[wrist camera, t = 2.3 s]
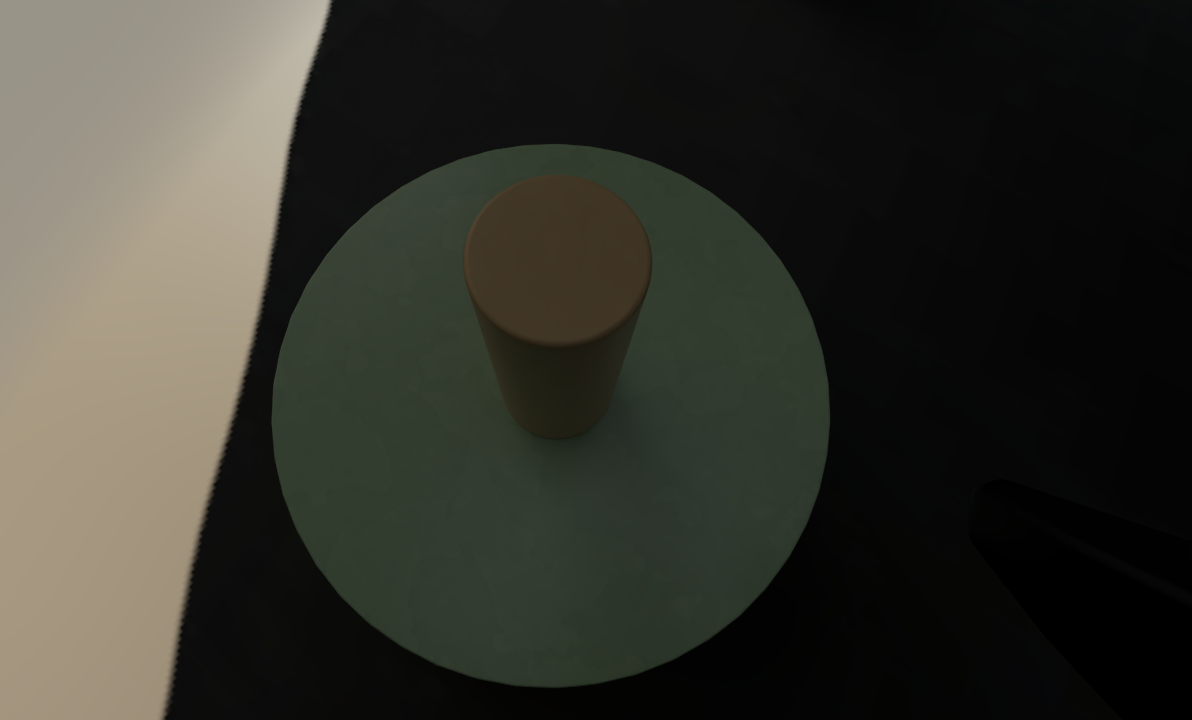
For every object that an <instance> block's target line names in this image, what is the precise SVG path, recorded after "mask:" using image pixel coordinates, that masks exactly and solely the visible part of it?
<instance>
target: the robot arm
mask: <svg viewBox="0 0 1192 720" xmlns="http://www.w3.org/2000/svg"><path fill="white" fill-rule="evenodd" d="M968 533H969V536H970V539H971V541H972V543H973V544H974V546H975V547H976V549H977V550H978V551H979V553H980V554H981V555H982V556H983V558H984V559H985V560H986V562H987V563H988V564H989V565H990V567H991V568H992V569H993V571H994V572H995V573H996V574H997V576H998V577H999V578H1000V580H1001V581H1002V582H1003V583H1004V585H1005V586H1006V587H1007V589H1008V590H1009V591H1010V593H1011V594H1012V595H1013V596H1014V598H1015V599H1016V600H1017V602H1018V603H1019V604H1020V605H1021V607H1022V608H1023V609H1024V611H1025V612H1026V613H1027V614H1028V616H1029V617H1030V618H1031V620H1032V621H1033V622H1034V623H1035V625H1036V626H1037V627H1038V628H1039V629H1040V631H1041V632H1042V633H1043V634H1044V636H1045V637H1046V638H1047V639H1048V640H1049V641H1050V642H1051V644H1052V645H1053V646H1054V647H1055V648H1056V649H1057V650H1058V651H1059V652H1060V654H1061V655H1062V656H1063V657H1064V658H1065V659H1066V660H1067V661H1068V662H1069V663H1070V664H1071V665H1072V666H1073V667H1074V669H1075V670H1076V671H1077V672H1078V673H1079V674H1080V675H1081V676H1082V677H1083V678H1084V679H1085V680H1086V681H1087V682H1088V683H1089V685H1090V686H1091V687H1092V688H1093V689H1094V690H1095V691H1096V692H1097V693H1098V694H1099V695H1100V696H1101V697H1102V698H1103V700H1104V701H1105V702H1106V703H1107V704H1108V705H1109V706H1110V707H1111V708H1112V709H1113V710H1114V711H1115V712H1116V713H1117V715H1118V716H1119V717H1120V718H1121V719H1122V720H1192V542H1191V541H1188V540H1185V539H1182V538H1179V537H1176V536H1173V535H1170V534H1167V533H1164V532H1161V531H1158V530H1155V529H1152V528H1149V527H1146V526H1143V525H1140V524H1137V523H1134V522H1131V521H1128V520H1125V519H1122V518H1119V517H1116V516H1113V515H1110V514H1107V513H1104V512H1101V511H1098V510H1095V509H1092V508H1089V507H1086V506H1083V505H1080V504H1077V503H1074V502H1071V501H1068V500H1065V499H1062V498H1059V497H1056V496H1053V495H1050V494H1047V493H1044V492H1041V491H1038V490H1035V489H1032V488H1029V487H1026V486H1023V485H1020V484H1017V483H1014V482H1011V481H1008V480H1003V479H998V480H994V481H991V482H988V483H986V484H983V485H981V486H978V487H976V488H975V489H974V490H973V492H972V494H971V501H970V510H969V520H968Z"/></svg>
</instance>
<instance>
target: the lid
mask: <svg viewBox="0 0 1192 720" xmlns="http://www.w3.org/2000/svg"><path fill="white" fill-rule="evenodd" d="M829 428H830V406H829V385H828V380H827V374H826V368H825V363H824V357H823V352H822V348H821V345H820V342H819V339H818V336H817V333H816V329H815V326H814V323H813V320H812V317H811V315H810V313H809V311H808V309H807V307H806V304H805V302H804V300H803V298H802V296H801V294H800V292H799V289H798V288H797V286H796V284H795V283H794V281H793V280H792V278H791V276H790V275H789V273H788V271H787V270H786V268H785V267H784V265H783V263H782V262H781V260H780V259H779V258H778V257H777V255H776V254H775V253H774V252H773V250H772V249H771V248H770V247H769V245H768V244H767V243H766V242H765V240H764V239H763V238H762V237H761V236H760V234H759V233H758V232H756V231H755V230H754V229H753V228H752V227H751V226H750V225H749V224H748V223H747V222H746V221H745V220H744V219H743V218H742V217H741V216H740V215H739V214H738V213H737V212H736V211H734V210H733V209H732V208H730V207H729V206H728V205H727V204H725V203H724V202H723V201H721V200H720V199H719V198H717V197H716V196H715V195H713V194H712V193H711V192H709V191H708V190H706V189H704V188H702V187H701V186H699V185H697V184H696V183H694V182H692V181H691V180H689V179H687V178H686V177H684V176H682V175H680V174H678V173H675V172H673V171H671V170H669V169H666V168H664V167H662V166H660V165H657V164H655V163H653V162H650V161H647V160H643V159H640V158H637V157H634V156H631V155H627V154H624V153H620V152H615V151H610V150H605V149H600V148H595V147H588V146H575V145H562V144H550V145H525V146H518V147H512V148H505V149H498V150H492V151H489V152H485V153H481V154H478V155H474V156H470V157H467V158H463V159H460V160H457V161H455V162H452V163H450V164H447V165H445V166H442V167H440V168H437V169H435V170H432V171H430V172H428V173H426V174H425V175H423V176H421V177H419V178H417V179H415V180H413V181H412V182H410V183H408V184H406V185H404V186H402V187H401V188H399V189H398V190H397V191H395V192H394V193H392V194H391V195H389V196H388V197H387V198H385V199H384V200H382V201H381V202H380V203H378V204H377V205H375V206H374V207H373V208H372V209H371V210H370V211H368V212H367V213H366V214H365V215H364V216H363V217H362V218H361V219H360V220H359V221H357V222H356V223H355V224H354V225H353V226H352V227H351V228H350V229H349V230H348V231H347V232H346V233H345V234H344V235H343V237H342V238H341V239H340V240H339V241H338V242H337V244H336V245H335V246H334V247H333V248H332V249H331V251H330V252H329V253H328V254H327V255H326V257H325V258H324V260H323V261H322V263H321V264H320V266H319V267H318V269H317V270H316V272H315V273H314V275H313V276H312V278H311V279H310V281H309V282H308V284H307V286H306V288H305V290H304V292H303V294H302V296H301V298H300V300H299V302H298V304H297V306H296V308H295V310H294V312H293V314H292V317H291V320H290V323H289V326H288V329H287V332H286V335H285V338H284V340H283V343H282V346H281V349H280V355H279V360H278V365H277V370H276V375H275V380H274V388H273V406H272V431H273V443H274V455H275V461H276V466H277V470H278V475H279V479H280V483H281V488H282V492H283V496H284V498H285V501H286V504H287V506H288V509H289V511H290V514H291V517H292V519H293V522H294V524H295V527H296V530H297V532H298V533H299V535H300V537H301V539H302V541H303V542H304V544H305V546H306V548H307V549H308V551H309V553H310V555H311V557H312V558H313V560H314V562H315V564H316V565H317V566H318V568H319V569H320V570H321V572H322V573H323V574H324V576H325V577H326V578H327V579H328V581H329V582H330V583H331V585H332V586H333V587H334V589H335V590H336V591H337V592H338V594H339V595H340V596H341V597H342V598H343V599H344V600H345V601H346V602H347V603H348V604H349V605H350V606H351V607H352V608H353V609H354V610H355V611H356V612H357V613H358V614H360V615H361V616H362V617H363V618H364V619H365V620H366V621H367V622H368V623H369V624H370V625H372V626H373V627H375V628H376V629H377V630H379V631H380V632H381V633H383V634H384V635H386V636H387V637H388V638H390V639H391V640H393V641H394V642H395V643H397V644H398V645H400V646H401V647H403V648H405V649H407V650H409V651H411V652H412V653H414V654H416V655H418V656H420V657H422V658H424V659H426V660H428V661H430V662H432V663H434V664H436V665H438V666H441V667H443V668H446V669H449V670H452V671H455V672H458V673H461V674H464V675H466V676H469V677H472V678H475V679H480V680H485V681H490V682H495V683H501V684H506V685H511V686H518V687H539V688H566V687H576V686H586V685H597V684H601V683H605V682H610V681H614V680H618V679H622V678H626V677H630V676H634V675H638V674H640V673H643V672H645V671H648V670H650V669H653V668H655V667H658V666H660V665H663V664H665V663H668V662H670V661H673V660H675V659H677V658H679V657H680V656H682V655H684V654H685V653H687V652H689V651H691V650H692V649H694V648H696V647H698V646H699V645H701V644H703V643H705V642H706V641H708V640H710V639H711V638H712V637H713V636H715V635H716V634H717V633H719V632H720V631H721V630H722V629H724V628H725V627H726V626H728V625H729V624H730V623H731V622H733V621H734V620H735V619H737V618H738V617H739V616H740V615H741V614H742V613H743V612H744V611H745V610H746V609H747V608H748V607H749V606H750V605H751V604H752V603H753V602H754V601H755V600H756V599H757V598H758V597H759V596H760V595H761V594H762V593H763V591H764V590H765V589H766V588H767V587H768V586H769V584H770V583H771V582H772V580H773V579H774V577H775V576H776V575H777V573H778V572H779V571H780V569H781V568H782V567H783V565H784V564H785V562H786V561H787V560H788V558H789V557H790V555H791V553H792V551H793V549H794V547H795V545H796V544H797V542H798V540H799V538H800V536H801V534H802V532H803V531H804V529H805V527H806V525H807V522H808V520H809V517H810V514H811V512H812V509H813V506H814V503H815V501H816V498H817V495H818V493H819V490H820V485H821V481H822V476H823V472H824V467H825V463H826V458H827V451H828V440H829Z"/></svg>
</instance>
